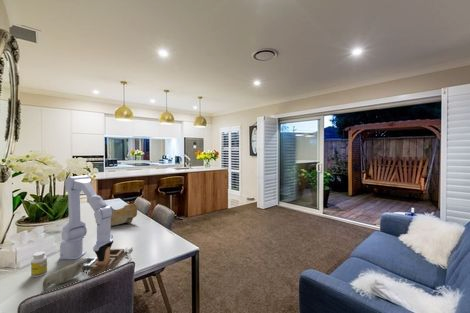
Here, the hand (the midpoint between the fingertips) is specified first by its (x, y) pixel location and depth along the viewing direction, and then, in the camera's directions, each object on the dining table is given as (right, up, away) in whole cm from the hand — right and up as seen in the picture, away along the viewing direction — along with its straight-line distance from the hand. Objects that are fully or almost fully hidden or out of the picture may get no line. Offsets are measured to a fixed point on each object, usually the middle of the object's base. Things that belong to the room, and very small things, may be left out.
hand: (103, 258), depth 107 cm
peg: (0, -3, 0) cm, 3 cm away
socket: (-11, -4, +3) cm, 12 cm away
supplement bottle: (-26, -5, -6) cm, 27 cm away
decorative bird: (-10, -5, -10) cm, 16 cm away
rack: (-1, -5, +5) cm, 7 cm away
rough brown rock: (-25, -2, +64) cm, 69 cm away
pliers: (+4, -5, +13) cm, 14 cm away
